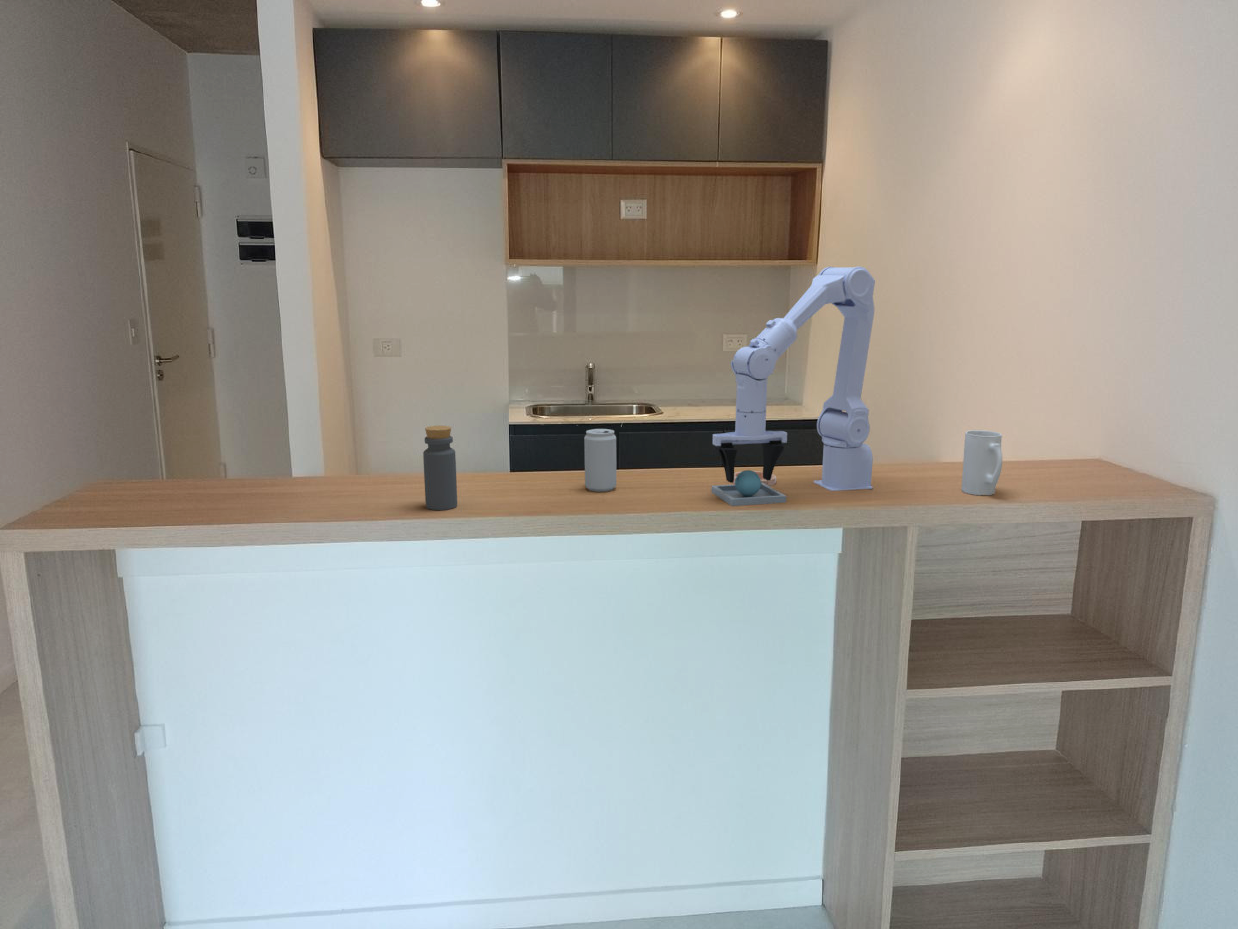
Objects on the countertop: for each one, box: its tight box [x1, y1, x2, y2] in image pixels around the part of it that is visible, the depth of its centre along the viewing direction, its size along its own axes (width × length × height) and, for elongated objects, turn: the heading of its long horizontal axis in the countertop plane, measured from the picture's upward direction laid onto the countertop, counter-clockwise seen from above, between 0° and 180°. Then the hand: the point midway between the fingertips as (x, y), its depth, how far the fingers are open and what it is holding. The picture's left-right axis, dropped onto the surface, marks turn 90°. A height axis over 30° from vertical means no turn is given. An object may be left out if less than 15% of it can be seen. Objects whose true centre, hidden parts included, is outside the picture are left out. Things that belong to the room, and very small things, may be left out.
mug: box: [961, 429, 1003, 496], centre depth 171 cm, size 10×7×12 cm, turn 9°
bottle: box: [422, 425, 458, 511], centre depth 161 cm, size 6×6×15 cm
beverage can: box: [583, 428, 617, 493], centre depth 174 cm, size 6×6×12 cm
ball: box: [735, 469, 761, 496], centre depth 168 cm, size 5×5×5 cm
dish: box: [732, 470, 777, 487], centre depth 180 cm, size 9×9×2 cm
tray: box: [710, 483, 787, 507], centre depth 168 cm, size 11×11×2 cm
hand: (748, 480), depth 167 cm, fingers open, 7 cm apart
